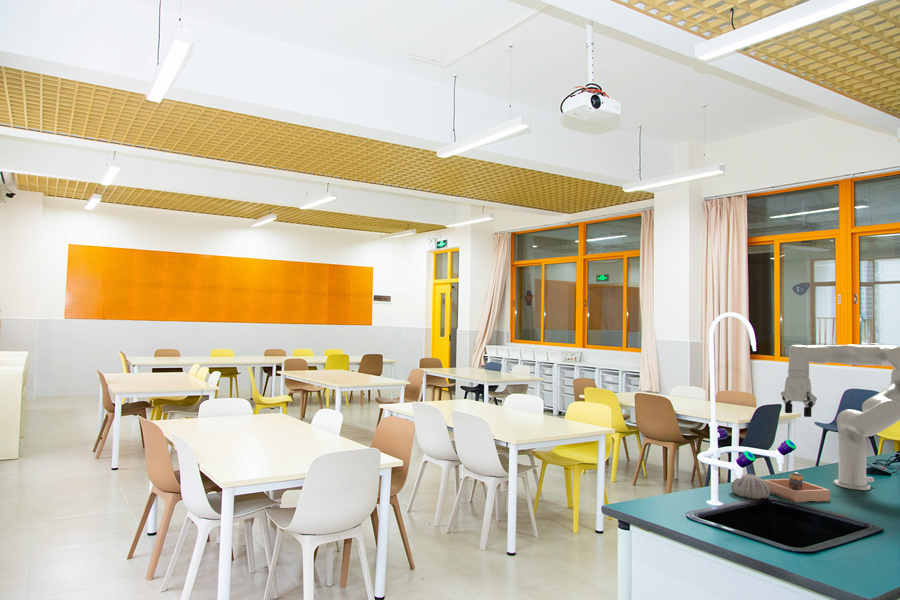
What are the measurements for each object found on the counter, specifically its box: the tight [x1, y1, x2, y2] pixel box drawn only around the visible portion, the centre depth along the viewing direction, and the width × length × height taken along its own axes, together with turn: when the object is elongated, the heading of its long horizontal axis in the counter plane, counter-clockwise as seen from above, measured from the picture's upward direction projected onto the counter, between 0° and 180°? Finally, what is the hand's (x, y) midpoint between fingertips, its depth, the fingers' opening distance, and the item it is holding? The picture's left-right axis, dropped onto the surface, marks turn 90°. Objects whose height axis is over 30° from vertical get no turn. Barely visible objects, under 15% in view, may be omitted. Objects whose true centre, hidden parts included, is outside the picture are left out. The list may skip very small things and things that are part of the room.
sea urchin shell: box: [730, 473, 771, 500], centre depth 223 cm, size 13×14×8 cm
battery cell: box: [788, 471, 804, 491], centre depth 226 cm, size 4×4×8 cm
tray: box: [762, 478, 831, 503], centre depth 226 cm, size 16×16×4 cm
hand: (797, 414), depth 247 cm, fingers open, 9 cm apart
